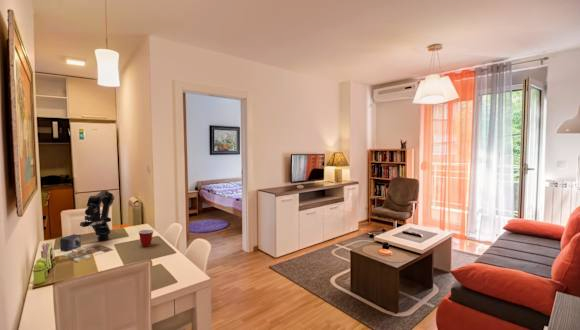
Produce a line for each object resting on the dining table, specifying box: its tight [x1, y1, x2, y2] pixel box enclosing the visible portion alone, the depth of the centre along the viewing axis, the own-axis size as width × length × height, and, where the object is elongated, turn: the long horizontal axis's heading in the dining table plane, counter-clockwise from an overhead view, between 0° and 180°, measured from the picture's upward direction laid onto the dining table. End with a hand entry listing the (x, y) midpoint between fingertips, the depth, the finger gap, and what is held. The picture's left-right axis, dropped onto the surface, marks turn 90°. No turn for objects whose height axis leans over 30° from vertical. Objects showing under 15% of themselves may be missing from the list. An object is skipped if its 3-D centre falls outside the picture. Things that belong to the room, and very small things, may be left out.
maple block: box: [71, 246, 87, 257], centre depth 191 cm, size 6×6×4 cm
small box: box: [59, 233, 82, 252], centre depth 203 cm, size 11×6×10 cm, turn 168°
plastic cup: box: [138, 229, 155, 248], centre depth 213 cm, size 11×11×12 cm
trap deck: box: [63, 244, 115, 264], centre depth 196 cm, size 23×20×3 cm
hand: (96, 233), depth 209 cm, fingers closed
